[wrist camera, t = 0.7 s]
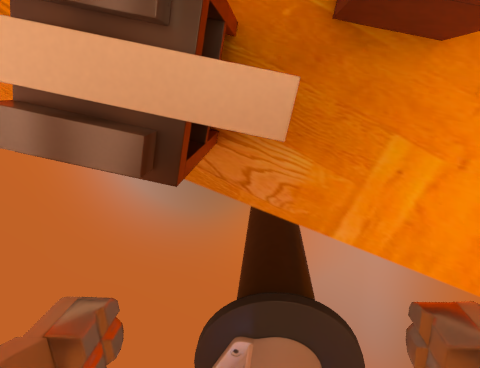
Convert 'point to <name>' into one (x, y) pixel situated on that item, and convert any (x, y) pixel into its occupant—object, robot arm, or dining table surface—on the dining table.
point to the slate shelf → (414, 16)
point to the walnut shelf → (112, 117)
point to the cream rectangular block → (146, 78)
